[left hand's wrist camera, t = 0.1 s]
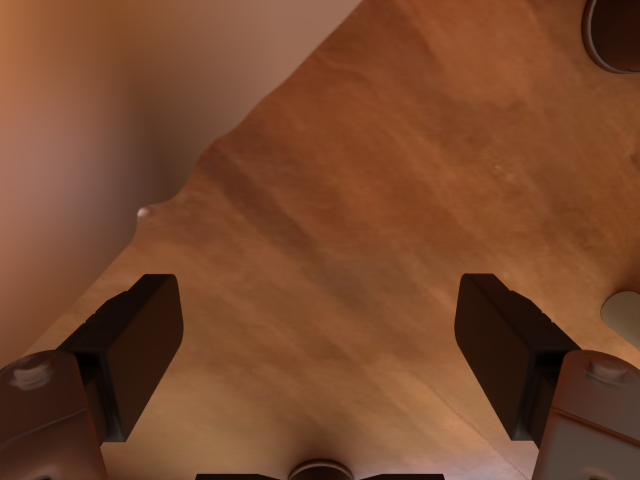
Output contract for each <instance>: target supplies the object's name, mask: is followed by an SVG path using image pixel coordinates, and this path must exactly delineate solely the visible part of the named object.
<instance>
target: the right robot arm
mask: <svg viewBox="0 0 640 480" xmlns="http://www.w3.org/2000/svg"><path fill="white" fill-rule="evenodd" d="M582 33H583V41H584V45H585V48H586V51H587V53H588V55H589V56H590V58H591V59H592V60H593V61H594V63H596V64H597V65H598V66H599V67H600V68H602V69H604V70H606V71H608V72H612V73H617V74H630V73H639V72H640V0H589V1H588V4H587V6H586V9H585V13H584V18H583V27H582Z"/></svg>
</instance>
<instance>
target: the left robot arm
mask: <svg viewBox="0 0 640 480" xmlns="http://www.w3.org/2000/svg"><path fill="white" fill-rule="evenodd" d="M183 329H184V327H183V317H182V310H181V303H180V296H179V289H178V282H177V279H176V277H175V275H174V274H145V275H143V276H142V277H141V278H140V279H139V280H138V281H137V282H136V283H135V284H134V285H133V286H132V287H131V288H130V289H129V290H128V291H124V292H122V293H120V294H119V295H117V296H115V297H113V298H111V299H109V300H107V301H106V302H105V303H104V304H103V305H102V306H101V307H100V308H99V309H98V310H97V311H96V312H95V314H92V315H91V316H90V317H89V318H88V319H87V320H86V323H83V324H82V325H81V326H80V327H79V328H78V329H77V330H76V331H74V332H73V333H72V334H71V335H70V336H69V337H68V338H67V339H66V340H65V341H64V342H63V343H62V344H61V345H60V346H59V347H58V348H57V349H55V350H47V351H42V352H38V353H34V354H31V355H28V356H25V357H23V358H20V359H18V360H16V361H14V362H12V363H10V364H8V365H7V366H5V367H4V368H2V369H1V370H0V480H108V476H107V472H106V468H105V465H104V461H103V457H102V453H101V450H100V447H101V445H102V443H103V442H126V440H127V438H128V437H129V435H130V433H131V431H132V430H133V428H134V426H135V424H136V423H137V421H138V419H139V417H140V416H141V414H142V412H143V410H144V408H145V407H146V405H147V403H148V401H149V400H150V398H151V396H152V394H153V393H154V391H155V389H156V387H157V386H158V384H159V382H160V380H161V378H162V377H163V375H164V373H165V371H166V370H167V368H168V366H169V364H170V363H171V361H172V359H173V357H174V356H175V354H176V352H177V350H178V349H179V347H180V345H181V342H182V338H183ZM454 330H455V337H456V341H457V344H458V346H459V348H460V350H461V352H462V353H463V355H464V357H465V359H466V361H467V362H468V364H469V366H470V368H471V369H472V371H473V373H474V375H475V377H476V378H477V380H478V382H479V384H480V385H481V387H482V389H483V391H484V393H485V394H486V396H487V398H488V400H489V402H490V403H491V405H492V407H493V409H494V410H495V412H496V414H497V416H498V418H499V419H500V421H501V423H502V425H503V427H504V428H505V430H506V432H507V434H508V435H509V437H510V439H511V441H534V443H535V444H536V446H537V447H538V449H539V453H538V457H537V461H536V465H535V468H534V472H533V476H532V480H640V370H639V369H638V368H636V367H635V366H633V365H632V364H630V363H628V362H626V361H624V360H622V359H620V358H617V357H615V356H612V355H609V354H606V353H602V352H598V351H593V350H582V349H581V348H580V347H579V346H578V345H577V344H576V343H575V342H574V341H573V340H572V339H571V338H570V337H569V336H567V335H566V334H565V333H564V332H563V331H562V330H561V329H560V328H559V327H558V326H557V325H556V324H555V323H554V322H551V319H550V318H549V317H548V316H547V315H546V314H544V313H542V311H541V310H540V309H539V308H538V307H537V306H536V305H535V304H534V303H533V302H532V301H531V300H529V299H528V298H526V297H524V296H522V295H520V294H518V293H516V292H515V291H510V290H509V289H508V288H507V287H506V286H505V285H504V284H503V283H502V282H501V281H500V280H499V279H498V278H497V277H496V276H495V275H494V274H464V275H463V276H462V278H461V281H460V287H459V294H458V301H457V309H456V316H455V324H454ZM195 480H279V479H275V478H271V477H268V476H264V475H260V474H197V476H196V479H195ZM288 480H354V478H353V476H352V474H351V473H350V471H349V470H348V469H347V468H345V467H344V466H342V465H341V464H338V463H336V462H333V461H328V460H314V461H309V462H306V463H303V464H301V465H300V466H298V467H297V468H295V469H294V470H293V471H292V472H291V474H290V475H289V478H288ZM361 480H445V479H444V476H443V474H380V475H376V476H372V477H369V478H365V479H361Z"/></svg>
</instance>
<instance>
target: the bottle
mask: <svg viewBox="0 0 640 480" xmlns="http://www.w3.org/2000/svg"><path fill="white" fill-rule="evenodd" d="M601 318H602V320H603V322H604V323H605V324H606V325H607V326H609V327H610V328H611V329H613V330H614V331H615V332H616V333H618V334H619V335H620V336H621V337H623V338H624V339H625V340H627V341H628V342H629V343H630V344H632V345H633V346H634V347H635V348H637V349H638V350H639V351H640V295H639V294H638V293H636V292H632V291H623V292H620V293H617V294H615V295H613V296H611V297H610V298H609V299H608V300H607V301H606V302H605V303H604V305H603V307H602V310H601Z"/></svg>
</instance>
